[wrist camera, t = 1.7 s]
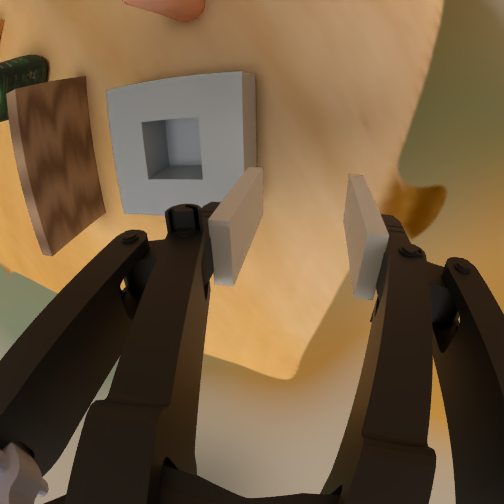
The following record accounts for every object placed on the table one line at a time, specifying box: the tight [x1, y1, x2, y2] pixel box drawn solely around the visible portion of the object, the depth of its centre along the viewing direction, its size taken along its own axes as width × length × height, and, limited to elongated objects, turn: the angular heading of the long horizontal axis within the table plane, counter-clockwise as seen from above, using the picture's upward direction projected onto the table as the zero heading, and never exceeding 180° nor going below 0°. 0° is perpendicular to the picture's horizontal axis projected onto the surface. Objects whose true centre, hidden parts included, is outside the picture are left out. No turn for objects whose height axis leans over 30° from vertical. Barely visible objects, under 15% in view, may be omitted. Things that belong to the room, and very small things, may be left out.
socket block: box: [106, 71, 257, 215], centre depth 29 cm, size 14×14×6 cm
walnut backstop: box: [6, 76, 106, 256], centre depth 30 cm, size 20×2×12 cm, turn 1°
